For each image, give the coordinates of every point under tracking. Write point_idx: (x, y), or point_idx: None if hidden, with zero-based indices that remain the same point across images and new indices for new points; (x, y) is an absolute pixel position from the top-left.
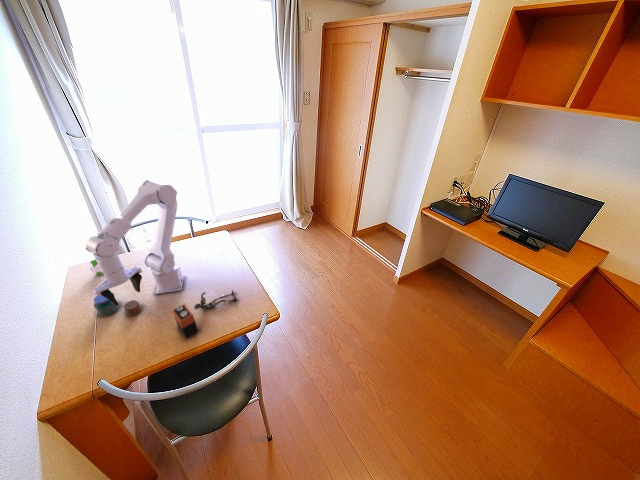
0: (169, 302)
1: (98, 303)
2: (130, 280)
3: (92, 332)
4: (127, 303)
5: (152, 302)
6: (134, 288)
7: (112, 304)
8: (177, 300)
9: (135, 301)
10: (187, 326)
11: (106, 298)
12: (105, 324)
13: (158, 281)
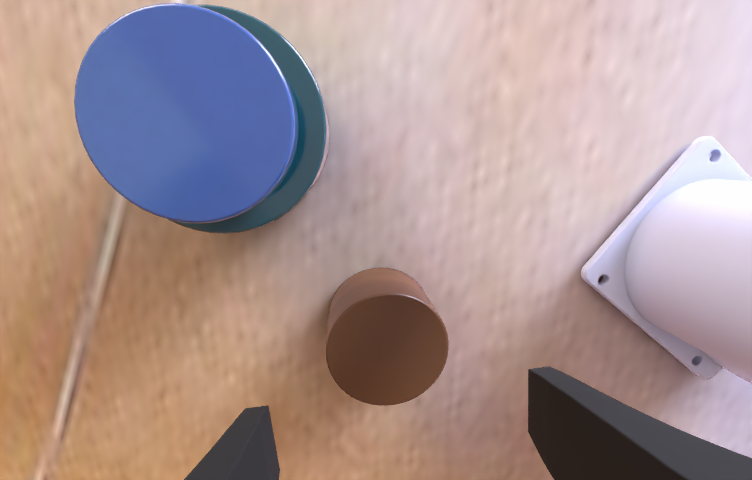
0: None
1: (121, 189)
2: (680, 473)
3: (70, 302)
4: (374, 309)
5: (507, 334)
6: (548, 391)
7: (268, 221)
8: None
9: (433, 341)
10: None
11: (226, 187)
12: (170, 294)
13: (748, 348)
